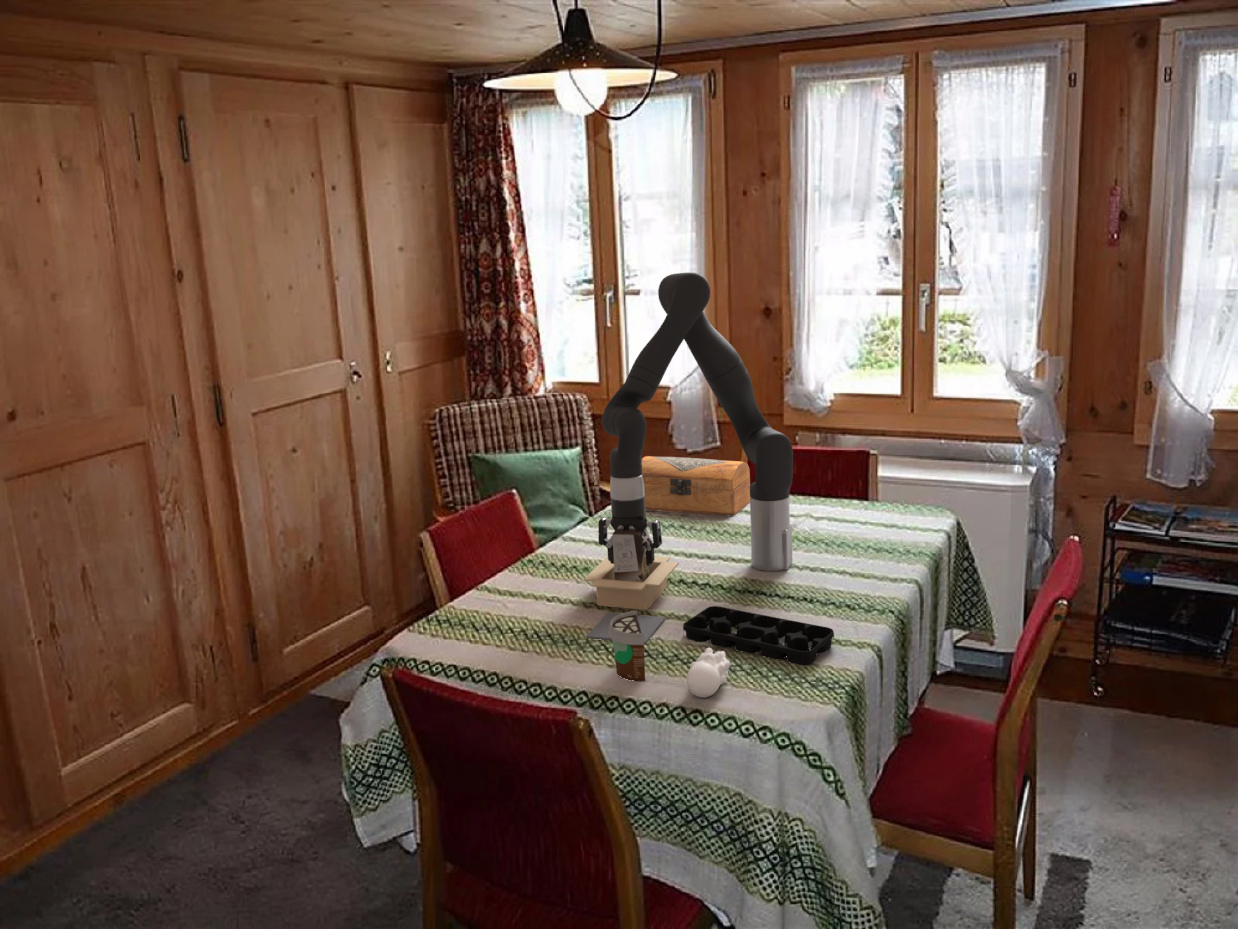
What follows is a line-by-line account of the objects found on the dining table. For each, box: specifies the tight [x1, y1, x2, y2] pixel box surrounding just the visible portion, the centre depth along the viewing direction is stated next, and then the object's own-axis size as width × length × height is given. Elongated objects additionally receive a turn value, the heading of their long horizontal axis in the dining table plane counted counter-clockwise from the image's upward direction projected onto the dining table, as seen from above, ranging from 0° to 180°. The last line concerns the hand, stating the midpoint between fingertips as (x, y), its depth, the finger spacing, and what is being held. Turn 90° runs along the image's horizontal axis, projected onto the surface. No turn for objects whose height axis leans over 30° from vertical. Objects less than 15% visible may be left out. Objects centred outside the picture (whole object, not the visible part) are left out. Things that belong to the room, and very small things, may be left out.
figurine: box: [685, 647, 731, 699], centre depth 196 cm, size 7×7×12 cm
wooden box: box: [641, 455, 751, 516], centre depth 309 cm, size 30×16×14 cm, turn 65°
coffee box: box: [612, 528, 649, 582], centre depth 242 cm, size 9×6×16 cm
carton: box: [583, 555, 679, 611], centre depth 243 cm, size 18×21×6 cm
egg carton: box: [682, 605, 835, 666], centre depth 215 cm, size 18×30×4 cm, turn 67°
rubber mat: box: [585, 611, 666, 645], centre depth 225 cm, size 13×13×1 cm
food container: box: [608, 610, 646, 682], centre depth 204 cm, size 12×6×10 cm, turn 5°
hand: (631, 563), depth 242 cm, fingers open, 8 cm apart
